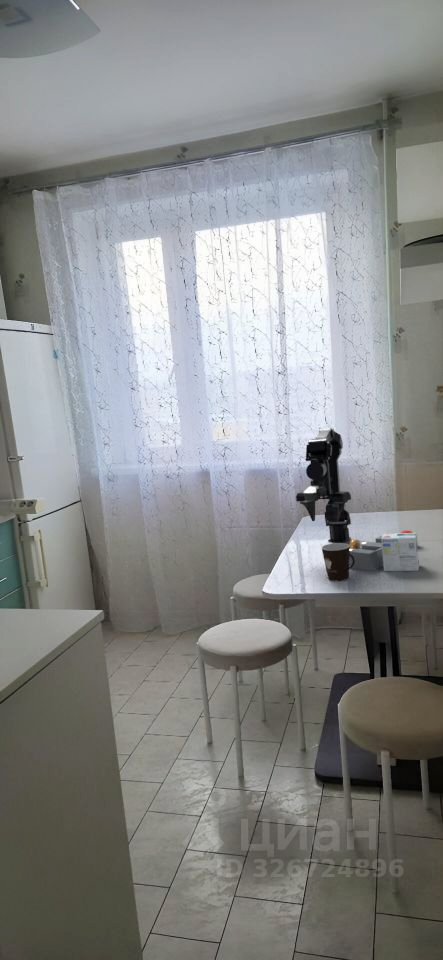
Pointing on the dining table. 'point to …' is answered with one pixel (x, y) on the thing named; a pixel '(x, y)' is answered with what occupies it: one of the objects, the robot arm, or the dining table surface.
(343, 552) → the coffee mug
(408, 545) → the light bulb box
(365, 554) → the mount
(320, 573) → the dining table surface
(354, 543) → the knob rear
